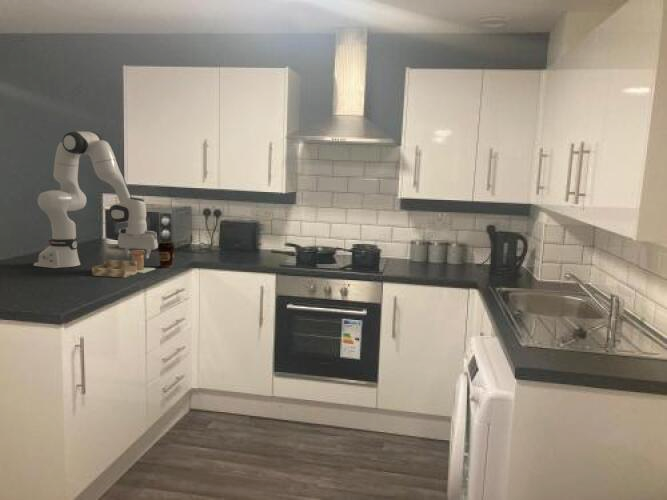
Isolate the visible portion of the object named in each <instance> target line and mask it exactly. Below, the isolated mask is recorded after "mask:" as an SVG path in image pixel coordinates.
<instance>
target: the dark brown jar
mask: <svg viewBox="0 0 667 500" xmlns="http://www.w3.org/2000/svg"><path fill="white" fill-rule="evenodd" d="M175 247H176V245H175V244H174V242H173V241H161V242H160V241H159V243H158V247H157V249H158V260H159V267H160V268H173V266H174V265H173V260H174V258H175V257H174V256H175V252H174V251H175Z"/></svg>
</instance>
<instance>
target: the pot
mask: <svg viewBox="0 0 667 500" xmlns="http://www.w3.org/2000/svg"><path fill="white" fill-rule="evenodd" d="M130 253H131V254H132V257H131V261H137V270H144V268H145V266H144V265H145V263H144V259H145V256H144V255H145V249H132V250H131V251H130Z"/></svg>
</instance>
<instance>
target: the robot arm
mask: <svg viewBox="0 0 667 500" xmlns="http://www.w3.org/2000/svg"><path fill="white" fill-rule="evenodd" d="M82 155H87V156H89V158H90V160H91V163H92V166H93V169H94V173H95V174H96V176H97V178H98V179H100V180H101V181H103V182H106V183H107V184H108V185H110V186H111V187H112V188H113V189H114V192H115V194H116V196H117V199H118V201H119V203H116V204H113V205H111V206H110V207H109V209H108V211H107V214H108V217H109V219H110V221H111V222H113V223H114V224H115V223H116V224H124V223H127V226H125V227H123V228H120V229H118V237H117V247H118V248H119V249H124V251H125V252H126V256H127V258H132V254H131V251H130V250H131V249H132V250H145V251H146V254H143V256H144V259H149V258H150V254H151V252H152V250H153V251H155V250H157V249H158V245H159V243H158V234H157V232H156V231H154V230H147V229H148V225H147V220H146V219H147V206H146V204H147V203H146V201H145V200H144V199H143V198H140V197H133V196H132V195H131V192H130V190H129V188H128V185H127V182H126V180H125V178H124V177H123V175H122V172H121V170H120V168H119V166H118V162H117V159H116V156H115V153H114V151H113V149H112V147H111V145H110V143H109V142H108V141H106V140H104V139H103V138H102V136H101V135H100V134H99V133H97V132H94V131H88V130H87V131H84V130H83V131H82V130H81V131H69V132H67V133H65V134H64V135H63V137H62V141H61V142H60V143H59V144H58V146H57V148H56V151H55V155H54V156H55V157H54V165H53V166H54V167H53V178H54V179H55V181H56V182H58V183H59V185H60V190H58V189H54V190H52V189H51V190H50V189H49V190H46V191H43V192H41V193H40V194H39V195H38V197H37V205H38V207H39V208H40V210H42V212H44V213H45V214H46V215H47V217H48V219H49V221H50V226H51V232H52V233H51V234H52V236H51V237H52V238H51V239H48V240H47V242H48V243H49V246H47V247H46V248H45V249H44V250H42V251H41V252H40V253H39V255H38V261H37V262H34V263H33V266H34V267H41V268H50V269H59V268H71V267H77V266H80V265H81V262H80V258H79V254H78V239H77V229H76V225H77V224H76V223H75V221H74V220H72V219H71V218H69V216H68V213H67V212H74V211H80V210H81V209H84V208H85V207H86V205H87V201H88V200H87V196H86V194H85V193H84V192H83V191H82V189H81V188H80V186H79V179H78V178H79V177H78V175H79V165H80V164H79V163H80V157H81V156H82Z"/></svg>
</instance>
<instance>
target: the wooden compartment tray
mask: <svg viewBox="0 0 667 500" xmlns="http://www.w3.org/2000/svg"><path fill="white" fill-rule="evenodd" d="M103 261H104V262H103V263H102V264H99V265H95V266H92V268H91V274H92V276H98V277H113V278H127V277H130V275H131V276H134V275H137V274H138V273H137V261H132V260H122V259H121V260H120V259H119V260H118V259H105V258H104V260H103Z"/></svg>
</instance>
